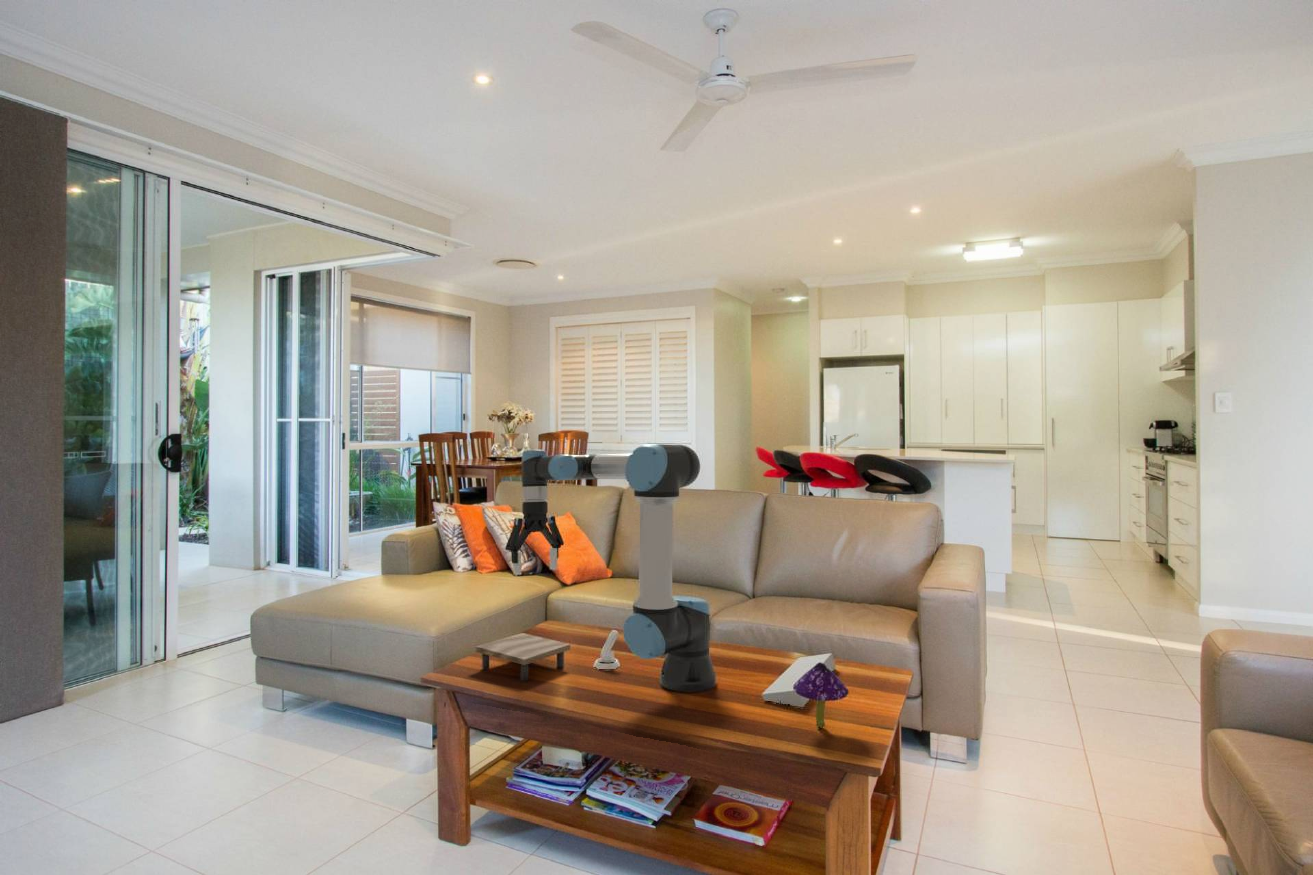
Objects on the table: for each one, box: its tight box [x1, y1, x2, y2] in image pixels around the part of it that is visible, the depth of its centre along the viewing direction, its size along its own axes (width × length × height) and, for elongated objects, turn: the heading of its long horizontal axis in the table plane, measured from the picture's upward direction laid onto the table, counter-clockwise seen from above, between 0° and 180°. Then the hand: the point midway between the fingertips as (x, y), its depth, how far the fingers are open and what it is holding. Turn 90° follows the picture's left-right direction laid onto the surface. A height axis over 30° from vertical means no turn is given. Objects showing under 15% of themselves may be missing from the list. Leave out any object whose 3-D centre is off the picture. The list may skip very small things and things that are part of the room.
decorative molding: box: [761, 653, 836, 707], centre depth 188 cm, size 34×5×10 cm
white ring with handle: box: [593, 629, 621, 670], centre depth 204 cm, size 8×12×7 cm
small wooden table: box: [475, 632, 571, 682], centre depth 200 cm, size 20×18×6 cm
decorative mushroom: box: [793, 662, 850, 729], centre depth 159 cm, size 12×12×15 cm
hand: (535, 572), depth 208 cm, fingers open, 13 cm apart
